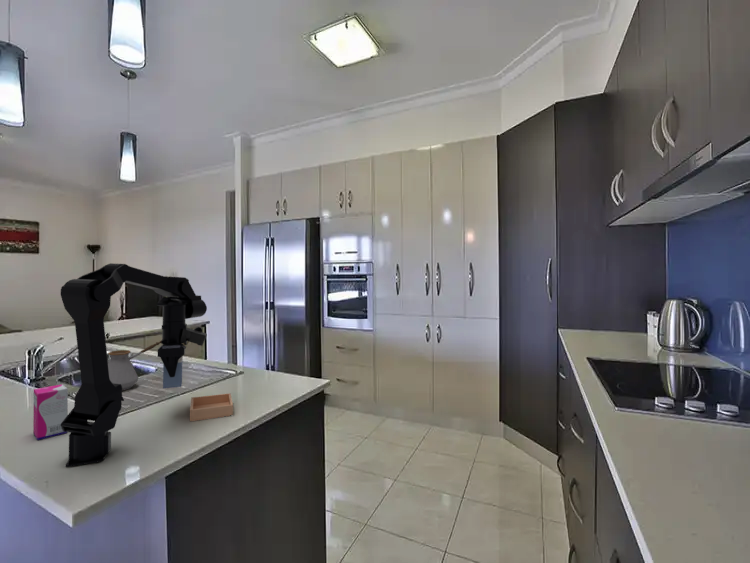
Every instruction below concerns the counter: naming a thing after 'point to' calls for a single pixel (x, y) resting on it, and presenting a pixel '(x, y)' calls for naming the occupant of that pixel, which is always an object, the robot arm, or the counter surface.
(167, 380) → the block
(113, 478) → the counter surface
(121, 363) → the coffee pot
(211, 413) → the bin
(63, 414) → the supplement box
